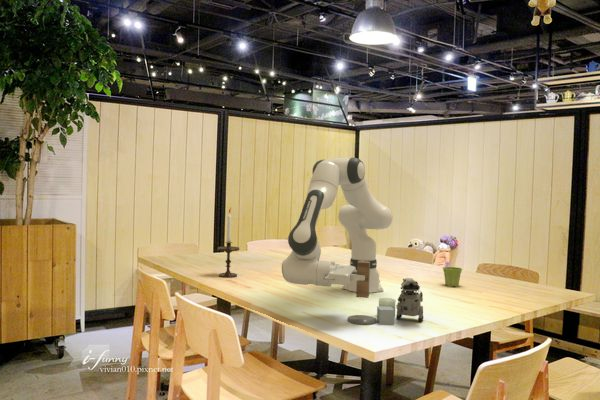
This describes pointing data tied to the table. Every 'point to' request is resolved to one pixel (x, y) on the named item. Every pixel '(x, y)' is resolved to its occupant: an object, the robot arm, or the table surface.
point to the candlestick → (228, 250)
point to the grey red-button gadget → (410, 300)
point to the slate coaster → (362, 319)
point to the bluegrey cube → (385, 315)
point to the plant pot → (452, 276)
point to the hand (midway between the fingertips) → (365, 276)
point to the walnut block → (363, 286)
